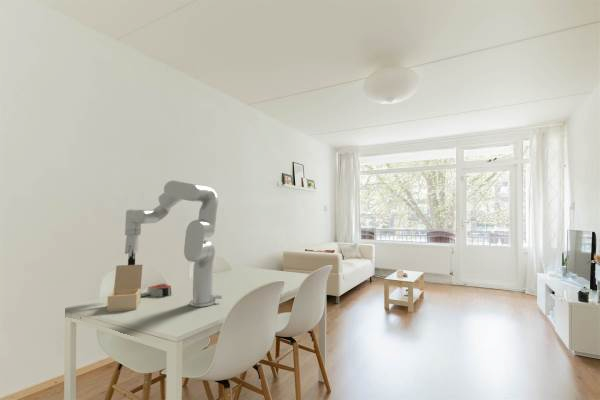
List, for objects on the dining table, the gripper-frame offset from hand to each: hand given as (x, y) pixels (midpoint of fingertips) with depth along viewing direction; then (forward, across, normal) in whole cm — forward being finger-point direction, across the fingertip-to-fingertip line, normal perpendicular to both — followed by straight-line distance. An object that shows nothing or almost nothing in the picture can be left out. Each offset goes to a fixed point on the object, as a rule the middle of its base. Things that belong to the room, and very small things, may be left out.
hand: (131, 266), depth 172 cm
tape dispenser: (+17, -2, +12) cm, 21 cm away
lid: (+4, +10, 0) cm, 11 cm away
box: (+16, +18, +1) cm, 25 cm away
